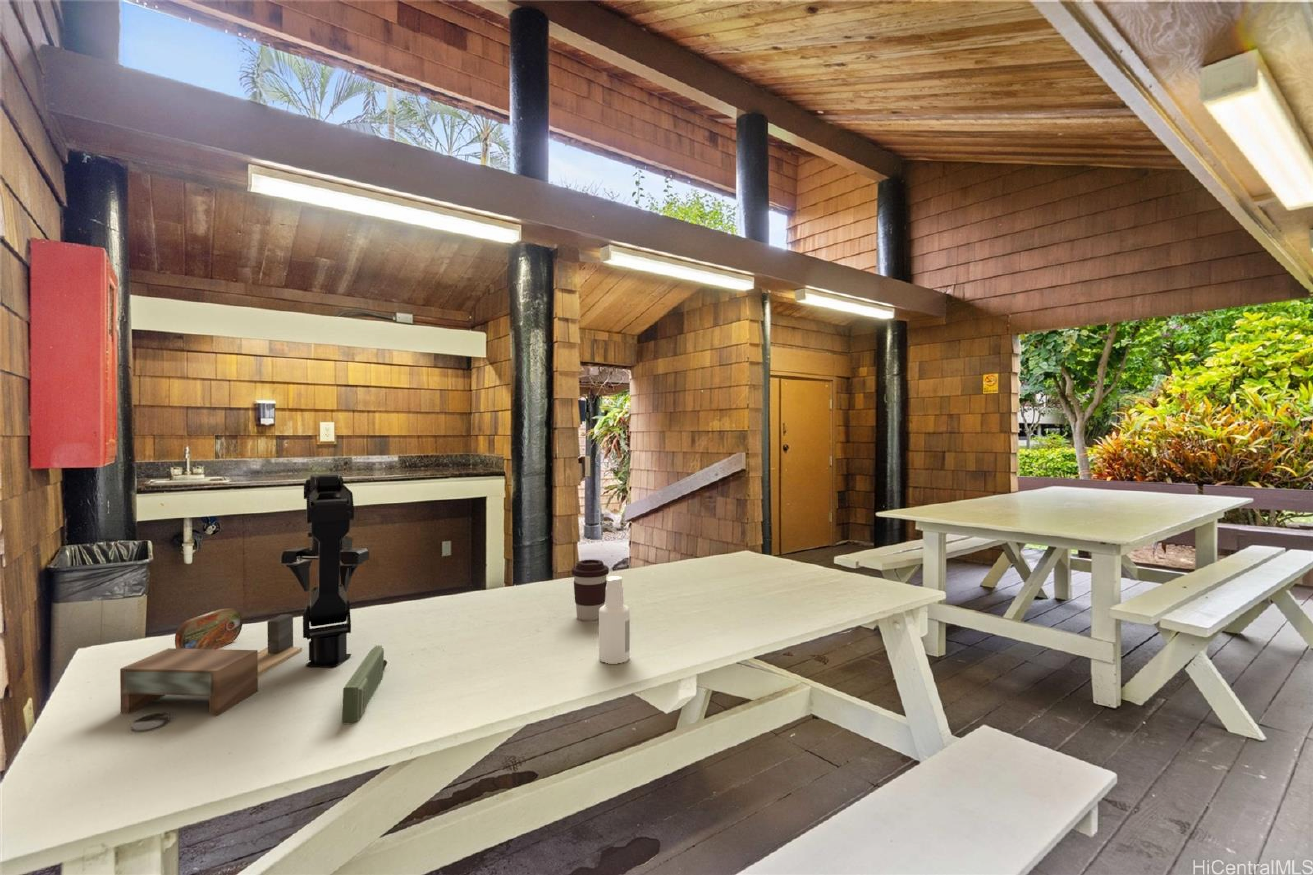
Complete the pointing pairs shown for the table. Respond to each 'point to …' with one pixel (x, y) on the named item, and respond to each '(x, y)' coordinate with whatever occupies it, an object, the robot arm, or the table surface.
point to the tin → (209, 630)
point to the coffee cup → (589, 588)
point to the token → (150, 722)
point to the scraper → (277, 643)
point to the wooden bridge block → (191, 677)
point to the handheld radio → (363, 685)
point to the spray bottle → (614, 624)
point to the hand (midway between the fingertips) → (325, 591)
